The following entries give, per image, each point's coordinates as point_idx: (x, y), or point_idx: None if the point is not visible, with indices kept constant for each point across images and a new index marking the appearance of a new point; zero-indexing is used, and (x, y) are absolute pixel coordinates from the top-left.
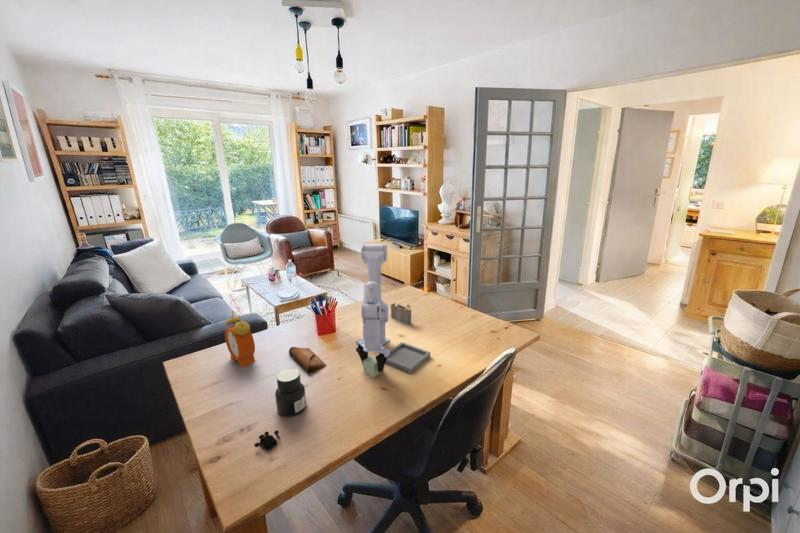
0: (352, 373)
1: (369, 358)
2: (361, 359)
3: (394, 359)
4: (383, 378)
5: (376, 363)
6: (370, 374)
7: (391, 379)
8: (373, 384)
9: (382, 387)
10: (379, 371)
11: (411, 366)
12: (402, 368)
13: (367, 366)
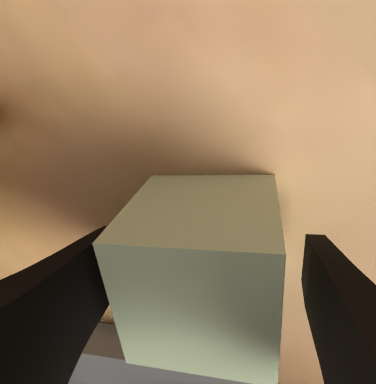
0: (371, 91)
1: (246, 327)
2: (352, 276)
3: (180, 381)
4: (91, 204)
5: (105, 286)
6: (184, 180)
7: (50, 224)
8: (77, 98)
9: (8, 117)
10: (97, 229)
11: None
12: None
13: (206, 216)
